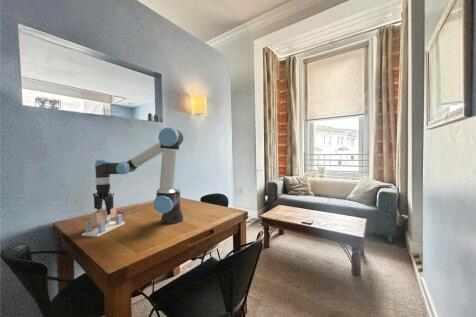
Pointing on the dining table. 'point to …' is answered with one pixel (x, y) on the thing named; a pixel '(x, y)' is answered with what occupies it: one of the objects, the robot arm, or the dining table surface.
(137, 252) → the dining table surface
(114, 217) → the squeegee
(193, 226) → the dining table surface
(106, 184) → the robot arm
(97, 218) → the pink rectangular block
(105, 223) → the rack
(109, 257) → the dining table surface
